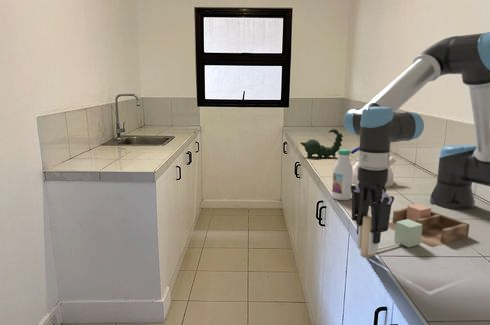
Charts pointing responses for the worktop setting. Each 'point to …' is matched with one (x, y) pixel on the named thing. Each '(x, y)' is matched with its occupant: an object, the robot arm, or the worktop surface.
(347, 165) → the milk bottle
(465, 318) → the worktop surface
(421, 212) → the terracotta block
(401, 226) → the green headed mallet
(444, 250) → the worktop surface
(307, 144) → the toy figurine
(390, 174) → the kettle
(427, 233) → the lane shelf
